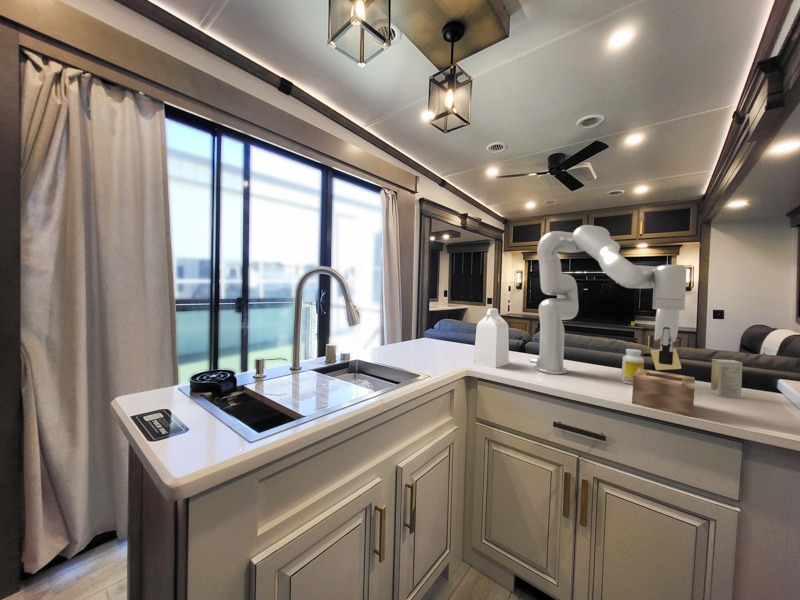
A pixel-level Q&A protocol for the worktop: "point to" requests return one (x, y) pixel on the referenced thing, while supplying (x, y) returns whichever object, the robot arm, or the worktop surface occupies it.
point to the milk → (492, 341)
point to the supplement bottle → (631, 365)
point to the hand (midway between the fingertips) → (665, 362)
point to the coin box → (664, 391)
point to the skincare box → (726, 378)
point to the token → (659, 366)
